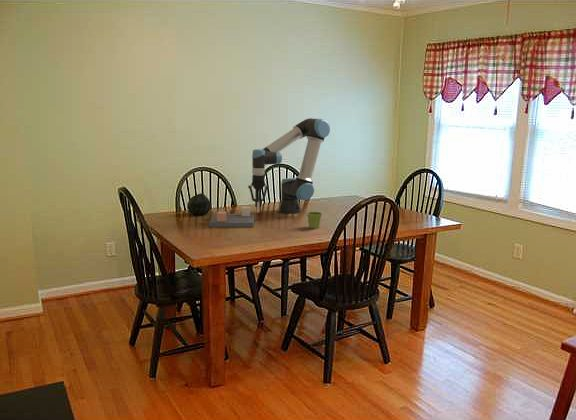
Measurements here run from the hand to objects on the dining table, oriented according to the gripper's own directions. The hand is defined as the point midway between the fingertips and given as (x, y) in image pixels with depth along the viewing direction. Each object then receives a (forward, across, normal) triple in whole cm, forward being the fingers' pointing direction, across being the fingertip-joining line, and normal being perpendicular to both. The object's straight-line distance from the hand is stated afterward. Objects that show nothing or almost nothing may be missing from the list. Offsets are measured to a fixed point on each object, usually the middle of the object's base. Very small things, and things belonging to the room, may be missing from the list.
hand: (258, 211), depth 315 cm
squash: (+6, +39, -18) cm, 43 cm away
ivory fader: (+2, +8, 0) cm, 8 cm away
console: (+6, +16, +7) cm, 18 cm away
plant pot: (+6, -33, +18) cm, 38 cm away
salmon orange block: (+2, +22, +15) cm, 26 cm away
